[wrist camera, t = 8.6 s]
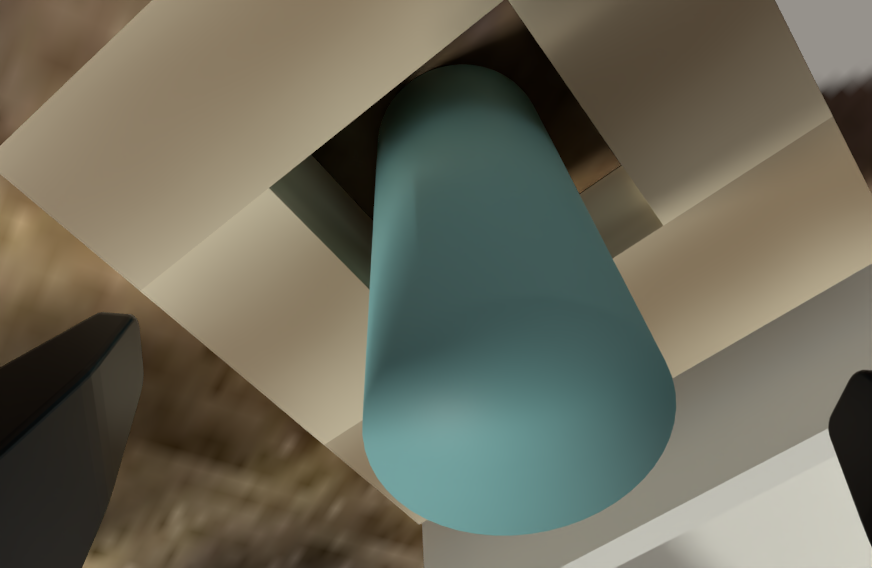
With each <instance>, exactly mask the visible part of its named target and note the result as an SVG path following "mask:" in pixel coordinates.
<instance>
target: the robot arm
mask: <svg viewBox="0 0 872 568" xmlns="http://www.w3.org/2000/svg"><path fill="white" fill-rule="evenodd" d="M143 374H144V372H143V360H142V350H141V339H140V329H139V323H138V321H137V319H136V318H135V316H133V315H131V314H119V313H106V312H101V313H97V314H95V315H93V316H91V317H89V318H88V319H86V320H84V321H82V322H80V323H79V324H77V325H75V326H73V327H72V328H70V329H68V330H66V331H64V332H63V333H61V334H59V335H57V336H55V337H54V338H52V339H50V340H48V341H46V342H45V343H43V344H41V345H39V346H38V347H36V348H34V349H32V350H30V351H29V352H27V353H25V354H23V355H21V356H20V357H18V358H16V359H14V360H13V361H11V362H9V363H7V364H5V365H4V366H2V367H0V568H82V566H83V564H84V562H85V559H86V557H87V555H88V552H89V550H90V548H91V545H92V543H93V541H94V538H95V536H96V534H97V531H98V529H99V526H100V524H101V522H102V519H103V517H104V514H105V512H106V509H107V506H108V504H109V501H110V498H111V495H112V491H113V488H114V485H115V482H116V478H117V475H118V471H119V468H120V464H121V461H122V457H123V454H124V450H125V447H126V443H127V440H128V436H129V433H130V429H131V426H132V422H133V419H134V415H135V412H136V408H137V405H138V401H139V398H140V394H141V391H142V385H143ZM828 430H829V436H830V439H831V442H832V445H833V447H834V450H835V453H836V455H837V458H838V461H839V464H840V466H841V469H842V472H843V474H844V477H845V480H846V482H847V485H848V488H849V490H850V493H851V496H852V499H853V501H854V504H855V507H856V509H857V512H858V515H859V517H860V520H861V523H862V525H863V528H864V530H865V533H866V535H867V538H868V540H869V542H870V545H871V547H872V370H860V371H857V372H856V373H854V374H853V375H852V376H851V378H850V379H849V381H848V383H847V385H846V387H845V389H844V391H843V392H842V394H841V396H840V398H839V400H838V402H837V404H836V406H835V408H834V410H833V412H832V414H831V416H830V418H829V423H828Z"/></svg>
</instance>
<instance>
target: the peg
mask: <svg viewBox="0 0 872 568" xmlns="http://www.w3.org/2000/svg"><path fill="white" fill-rule="evenodd" d="M675 413H676V392H675V387H674V383H673V378H672V375H671V373H670V370H669V368H668V366H667V363H666V361H665V359H664V357H663V355H662V353H661V351H660V349H659V348H658V346H657V344H656V342H655V340H654V338H653V336H652V334H651V332H650V330H649V328H648V326H647V324H646V322H645V320H644V318H643V317H642V315H641V313H640V311H639V309H638V307H637V305H636V303H635V301H634V299H633V297H632V295H631V293H630V291H629V289H628V287H627V286H626V284H625V282H624V280H623V278H622V276H621V274H620V272H619V270H618V268H617V266H616V264H615V262H614V260H613V258H612V256H611V255H610V253H609V251H608V249H607V247H606V245H605V243H604V241H603V239H602V237H601V235H600V233H599V231H598V229H597V227H596V225H595V224H594V222H593V220H592V218H591V216H590V214H589V212H588V210H587V208H586V206H585V204H584V202H583V200H582V198H581V196H580V194H579V193H578V191H577V189H576V187H575V185H574V183H573V181H572V179H571V177H570V175H569V173H568V171H567V169H566V167H565V165H564V163H563V162H562V160H561V158H560V156H559V154H558V152H557V150H556V148H555V146H554V144H553V142H552V140H551V138H550V136H549V134H548V132H547V131H546V129H545V127H544V125H543V123H542V121H541V119H540V117H539V115H538V113H537V111H536V109H535V107H534V105H533V104H532V102H531V101H530V99H529V97H528V96H527V95H526V94H525V92H524V91H523V90H522V89H521V88H520V87H519V86H518V85H517V84H516V83H515V82H513V81H512V80H511V79H509V78H508V77H506V76H505V75H503V74H501V73H499V72H497V71H495V70H492V69H489V68H486V67H482V66H476V65H466V64H458V65H448V66H444V67H439V68H436V69H433V70H431V71H428V72H426V73H424V74H422V75H420V76H418V77H417V78H415V79H414V80H412V81H411V82H409V83H408V84H407V85H406V86H405V87H404V88H403V89H402V90H400V92H399V93H398V94H397V95H396V96H395V97H394V99H393V100H392V102H391V103H390V105H389V106H388V108H387V110H386V112H385V114H384V116H383V119H382V122H381V125H380V129H379V135H378V145H377V163H376V182H375V200H374V218H373V237H372V255H371V273H370V292H369V310H368V328H367V347H366V365H365V383H364V401H363V423H362V436H363V442H364V448H365V452H366V455H367V458H368V460H369V463H370V466H371V467H372V469H373V471H374V473H375V475H376V477H377V478H378V480H379V481H380V482H381V483H382V485H383V486H384V487H385V489H386V490H387V491H388V492H389V493H390V494H391V495H392V496H393V497H394V498H395V499H396V500H397V501H398V502H400V503H401V504H403V505H404V506H405V507H407V508H408V509H409V510H411V511H412V512H414V513H416V514H418V515H420V516H421V517H423V518H425V519H427V520H429V521H432V522H434V523H437V524H439V525H441V526H445V527H448V528H451V529H455V530H458V531H463V532H469V533H474V534H483V535H493V536H513V535H525V534H533V533H539V532H545V531H550V530H553V529H557V528H561V527H565V526H568V525H571V524H573V523H576V522H579V521H581V520H584V519H586V518H588V517H590V516H593V515H595V514H597V513H599V512H601V511H602V510H604V509H606V508H607V507H609V506H611V505H612V504H614V503H616V502H617V501H619V500H620V499H621V498H623V497H624V496H625V495H627V494H628V493H629V492H630V491H632V490H633V489H634V488H635V487H636V486H637V485H638V484H639V483H640V482H641V481H642V480H643V479H644V478H645V477H646V476H647V474H648V473H649V472H650V471H651V470H652V469H653V467H654V466H655V464H656V463H657V461H658V460H659V458H660V457H661V455H662V454H663V452H664V450H665V448H666V445H667V443H668V441H669V439H670V436H671V433H672V429H673V426H674V421H675Z"/></svg>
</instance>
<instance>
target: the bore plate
mask: <svg viewBox="0 0 872 568" xmlns="http://www.w3.org/2000/svg"><path fill="white" fill-rule="evenodd" d="M502 1H503V0H152V1H151V2H150V3H149V4H148V5H147V6H146V7H145V8H144V9H143V10H142V11H141V12H139V13H138V14H137V15H136V16H135V17H134V18H133V19H132V20H131V21H130V22H129V23H128V24H127V25H126V26H125V27H124V28H123V29H122V30H121V31H120V32H119V33H118V34H117V35H115V36H114V37H113V38H112V39H111V40H110V41H109V42H108V43H107V44H106V45H105V46H104V47H103V48H102V49H101V50H100V51H99V52H98V53H97V54H96V55H95V56H94V57H93V58H91V59H90V60H89V61H88V62H87V63H86V64H85V65H84V66H83V67H82V68H81V69H80V70H79V71H78V72H77V73H76V74H75V75H74V76H73V77H72V78H71V79H70V80H69V81H67V82H66V83H65V84H64V85H63V86H62V87H61V88H60V89H59V90H58V91H57V92H56V93H55V94H54V95H53V96H52V97H51V98H50V99H49V100H48V101H47V102H46V103H44V104H43V105H42V106H41V107H40V108H39V109H38V110H37V111H36V112H35V113H34V114H33V115H32V116H31V117H30V118H29V119H28V120H27V121H26V122H25V123H24V124H23V125H22V126H20V127H19V128H18V129H17V130H16V131H15V132H14V133H13V134H12V135H11V136H10V137H9V138H8V139H7V140H6V141H5V142H4V143H3V144H2V145H1V146H0V174H1V175H2V176H3V177H4V178H6V179H7V180H8V181H9V182H10V183H12V184H13V185H14V186H15V187H16V188H18V189H19V190H20V191H21V192H22V193H24V194H25V195H26V196H27V197H28V198H30V199H31V200H32V201H33V202H34V203H36V204H37V205H38V206H39V207H40V208H41V209H43V210H44V211H45V212H46V213H47V214H49V215H50V216H51V217H52V218H53V219H55V220H56V221H57V222H58V223H59V224H61V225H62V226H63V227H64V228H65V229H67V230H68V231H69V232H70V233H71V234H73V235H74V236H75V237H76V238H77V239H79V240H80V241H81V242H82V243H83V244H84V245H86V246H87V247H88V248H89V249H90V250H92V251H93V252H94V253H95V254H96V255H98V256H99V257H100V258H101V259H102V260H104V261H105V262H106V263H107V264H108V265H110V266H111V267H112V268H113V269H114V270H116V271H117V272H118V273H119V274H120V275H122V276H123V277H124V278H125V279H126V280H127V281H129V282H130V283H131V284H132V285H133V286H135V287H136V288H137V289H138V290H139V291H141V292H142V293H143V294H144V295H145V296H147V297H148V298H149V299H150V300H151V301H153V302H154V303H155V304H156V305H157V306H159V307H160V308H161V309H162V310H163V311H165V312H166V313H167V314H168V315H169V316H170V317H172V318H173V319H174V320H175V321H176V322H178V323H179V324H180V325H181V326H182V327H184V328H185V329H186V330H187V331H188V332H190V333H191V334H192V335H193V336H194V337H196V338H197V339H198V340H199V341H200V342H202V343H203V344H204V345H205V346H206V347H208V348H209V349H210V350H211V351H212V352H213V353H215V354H216V355H217V356H218V357H219V358H221V359H222V360H223V361H224V362H225V363H227V364H228V365H229V366H230V367H231V368H233V369H234V370H235V371H236V372H237V373H239V374H240V375H241V376H242V377H243V378H245V379H246V380H247V381H248V382H249V383H250V384H252V385H253V386H254V387H255V388H256V389H258V390H259V391H260V392H261V393H262V394H264V395H265V396H266V397H267V398H268V399H270V400H271V401H272V402H273V403H274V404H276V405H277V406H278V407H279V408H280V409H282V410H283V411H284V412H285V413H286V414H288V415H289V416H290V417H291V418H292V419H293V420H295V421H296V422H297V423H298V424H299V425H301V426H302V427H303V428H304V429H305V430H307V431H308V432H309V433H310V434H311V435H313V436H314V437H315V438H316V439H317V440H319V441H320V442H321V443H322V444H323V445H325V446H326V447H327V448H328V449H329V450H331V451H332V452H333V453H334V454H335V455H336V456H338V457H339V458H340V459H341V460H342V461H344V462H345V463H346V464H347V465H348V466H350V467H351V468H352V469H353V470H354V471H356V472H357V473H358V474H359V475H360V476H362V477H363V478H364V479H365V480H366V481H368V482H369V483H370V484H371V485H372V486H374V487H375V488H376V489H377V490H378V491H379V492H381V493H382V494H383V495H384V496H385V497H387V498H388V499H389V500H390V501H391V502H393V503H394V504H395V505H396V506H397V507H399V508H400V509H401V510H402V511H403V512H405V513H406V514H407V515H408V516H409V517H411V518H412V519H413V520H414V521H415V522H417V523H418V524H421V523H423V522H425V521H426V520H427V519H425V518H423V517H421V516H420V515H418V514H416V513H414V512H412V511H411V510H409V509H408V508H407V507H405V506H404V505H403V504H401V503H400V502H398V501H397V500H396V499H395V498H394V497H393V496H392V495H391V494H390V493H389V492H388V491H387V490H386V489H385V487H384V486H383V485H382V483H381V482H380V481H379V480H378V478H377V477H376V475H375V473H374V471H373V469H372V467H371V466H370V463H369V460H368V458H367V455H366V452H365V448H364V442H363V436H362V423H363V401H364V383H365V365H366V347H367V328H368V310H369V292H370V273H371V255H372V237H373V221H372V220H371V218H370V217H369V216H368V215H367V214H366V213H365V212H364V211H363V210H362V209H361V208H360V207H359V206H358V204H357V203H356V202H355V201H354V200H353V199H352V198H351V197H350V196H349V195H348V194H347V193H346V192H345V190H344V189H343V188H342V187H341V186H340V185H339V184H338V183H337V182H336V181H335V180H334V179H333V178H332V176H331V175H330V174H329V173H328V172H327V171H326V170H325V169H324V168H323V167H322V166H321V165H320V164H319V162H318V161H317V160H316V159H315V158H314V157H313V156H312V155H311V154H312V153H313V152H314V151H316V150H317V149H318V148H319V147H321V146H322V145H323V144H324V143H326V142H327V141H328V140H329V139H331V138H332V137H333V136H334V135H336V134H337V133H338V132H339V131H341V130H342V129H343V128H344V127H346V126H347V125H348V124H349V123H351V122H352V121H353V120H354V119H356V118H357V117H358V116H359V115H361V114H362V113H363V112H364V111H366V110H367V109H368V108H369V107H371V106H372V105H373V104H374V103H376V102H377V101H378V100H379V99H381V98H382V97H383V96H384V95H386V94H387V93H388V92H389V91H391V90H392V89H393V88H394V87H396V86H397V85H398V84H399V83H401V82H402V81H403V80H404V79H406V78H407V77H408V76H409V75H411V74H412V73H413V72H414V71H416V70H417V69H418V68H419V67H421V66H422V65H423V64H424V63H426V62H427V61H428V60H429V59H431V58H432V57H433V56H434V55H436V54H437V53H438V52H439V51H441V50H442V49H443V48H444V47H446V46H447V45H448V44H449V43H451V42H452V41H453V40H454V39H456V38H457V37H458V36H459V35H461V34H462V33H463V32H464V31H466V30H467V29H468V28H469V27H471V26H472V25H473V24H474V23H476V22H477V21H478V20H479V19H481V18H482V17H483V16H484V15H486V14H487V13H488V12H489V11H491V10H492V9H493V8H494V7H496V6H497V5H498V4H499V3H501V2H502ZM508 1H509V2H510V4H511V5H512V6H513V8H514V9H515V11H516V12H517V14H518V15H519V17H520V18H521V20H522V21H523V22H524V24H525V25H526V27H527V28H528V30H529V31H530V33H531V34H532V36H533V37H534V38H535V40H536V41H537V43H538V44H539V46H540V47H541V49H542V50H543V52H544V53H545V54H546V56H547V57H548V59H549V60H550V62H551V63H552V65H553V66H554V68H555V69H556V70H557V72H558V73H559V75H560V76H561V78H562V79H563V81H564V82H565V84H566V85H567V86H568V88H569V89H570V91H571V92H572V94H573V95H574V97H575V98H576V99H577V101H578V102H579V104H580V105H581V107H582V108H583V110H584V111H585V113H586V114H587V115H588V117H589V118H590V120H591V121H592V123H593V124H594V126H595V127H596V129H597V130H598V131H599V133H600V134H601V136H602V137H603V139H604V140H605V142H606V143H607V145H608V146H609V147H610V149H611V150H612V152H613V153H614V155H615V156H616V158H617V159H618V161H619V162H620V163H621V165H622V166H620V167H619V168H617V169H616V170H614V171H613V172H611V173H610V174H609V175H607V176H606V177H604V178H603V179H601V180H600V181H598V182H597V183H595V184H594V185H592V186H591V187H590V188H588V189H587V190H585V191H584V192H582V193H581V194H580V196H581V198H582V200H583V202H584V204H585V206H586V208H587V210H588V212H589V214H590V216H591V218H592V220H593V222H594V224H595V225H596V227H597V229H598V231H599V233H600V235H601V237H602V239H603V241H604V243H605V245H606V247H607V249H608V251H609V253H610V255H611V256H612V258H613V260H614V262H615V264H616V266H617V268H618V270H619V272H620V274H621V276H622V278H623V280H624V282H625V284H626V286H627V287H628V289H629V291H630V293H631V295H632V297H633V299H634V301H635V303H636V305H637V307H638V309H639V311H640V313H641V315H642V317H643V318H644V320H645V322H646V324H647V326H648V328H649V330H650V332H651V334H652V336H653V338H654V340H655V342H656V344H657V346H658V348H659V349H660V351H661V353H662V355H663V357H664V359H665V361H666V363H667V366H668V368H669V370H670V373H671V375H672V378H674V377H676V376H678V375H679V374H681V373H683V372H685V371H686V370H688V369H690V368H692V367H693V366H695V365H697V364H698V363H700V362H702V361H704V360H705V359H707V358H709V357H711V356H712V355H714V354H716V353H718V352H719V351H721V350H723V349H724V348H726V347H728V346H730V345H731V344H733V343H735V342H737V341H738V340H740V339H742V338H744V337H745V336H747V335H749V334H750V333H752V332H754V331H756V330H757V329H759V328H761V327H763V326H764V325H766V324H768V323H770V322H771V321H773V320H775V319H776V318H778V317H780V316H782V315H783V314H785V313H787V312H789V311H790V310H792V309H794V308H796V307H797V306H799V305H801V304H802V303H804V302H806V301H808V300H809V299H811V298H813V297H815V296H816V295H818V294H820V293H822V292H823V291H825V290H827V289H828V288H830V287H832V286H834V285H835V284H837V283H839V282H841V281H842V280H844V279H846V278H848V277H849V276H851V275H853V274H854V273H856V272H858V271H860V270H861V269H863V268H865V267H867V266H868V265H870V264H872V194H871V192H870V190H869V188H868V186H867V184H866V182H865V180H864V178H863V176H862V174H861V172H860V170H859V168H858V166H857V164H856V162H855V160H854V158H853V156H852V154H851V152H850V150H849V148H848V146H847V144H846V142H845V140H844V138H843V136H842V134H841V132H840V130H839V128H838V126H837V124H836V122H835V120H834V118H833V116H832V114H831V112H830V110H829V108H828V106H827V104H826V102H825V100H824V98H823V96H822V94H821V92H820V90H819V88H818V86H817V84H816V82H815V80H814V78H813V76H812V74H811V72H810V70H809V68H808V66H807V64H806V62H805V60H804V58H803V56H802V54H801V52H800V50H799V48H798V46H797V44H796V42H795V40H794V38H793V36H792V34H791V32H790V30H789V28H788V26H787V24H786V22H785V20H784V18H783V16H782V14H781V12H780V10H779V8H778V6H777V4H776V2H775V0H508Z"/></svg>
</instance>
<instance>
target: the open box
mask: <svg viewBox="0 0 872 568" xmlns="http://www.w3.org/2000/svg"><path fill="white" fill-rule="evenodd" d="M860 370H872V264H870V265H868V266H867V267H865V268H863V269H861V270H860V271H858V272H856V273H854V274H853V275H851V276H849V277H848V278H846V279H844V280H842V281H841V282H839V283H837V284H835V285H834V286H832V287H830V288H828V289H827V290H825V291H823V292H822V293H820V294H818V295H816V296H815V297H813V298H811V299H809V300H808V301H806V302H804V303H802V304H801V305H799V306H797V307H796V308H794V309H792V310H790V311H789V312H787V313H785V314H783V315H782V316H780V317H778V318H776V319H775V320H773V321H771V322H770V323H768V324H766V325H764V326H763V327H761V328H759V329H757V330H756V331H754V332H752V333H750V334H749V335H747V336H745V337H744V338H742V339H740V340H738V341H737V342H735V343H733V344H731V345H730V346H728V347H726V348H724V349H723V350H721V351H719V352H718V353H716V354H714V355H712V356H711V357H709V358H707V359H705V360H704V361H702V362H700V363H698V364H697V365H695V366H693V367H692V368H690V369H688V370H686V371H685V372H683V373H681V374H679V375H678V376H676V377H674V378H673V383H674V387H675V392H676V413H675V421H674V426H673V429H672V433H671V436H670V439H669V441H668V443H667V445H666V448H665V450H664V452H663V454H662V455H661V457H660V458H659V460H658V461H657V463H656V464H655V466H654V467H653V469H652V470H651V471H650V472H649V473H648V474H647V476H646V477H645V478H644V479H643V480H642V481H641V482H640V483H639V484H638V485H637V486H636V487H635V488H634V489H633V490H632V491H630V492H629V493H628V494H627V495H625V496H624V497H623V498H621V499H620V500H619V501H617V502H616V503H614V504H612V505H611V506H609V507H607V508H606V509H604V510H602V511H601V512H599V513H597V514H595V515H593V516H590V517H588V518H586V519H584V520H581V521H579V522H576V523H573V524H571V525H568V526H565V527H561V528H557V529H553V530H550V531H545V532H539V533H533V534H525V535H513V536H493V535H483V534H474V533H469V532H463V531H458V530H455V529H451V528H448V527H445V526H441V525H439V524H437V523H434V522H432V521H429V520H426V521H425V522H423V523H422V532H423V556H424V568H872V547H871V545H870V542H869V540H868V538H867V535H866V533H865V530H864V528H863V525H862V523H861V520H860V517H859V515H858V512H857V509H856V507H855V504H854V501H853V499H852V496H851V493H850V490H849V488H848V485H847V482H846V480H845V477H844V474H843V472H842V469H841V466H840V464H839V461H838V458H837V455H836V453H835V450H834V447H833V445H832V442H831V439H830V436H829V430H828V423H829V418H830V416H831V414H832V412H833V410H834V408H835V406H836V404H837V402H838V400H839V398H840V396H841V394H842V392H843V391H844V389H845V387H846V385H847V383H848V381H849V379H850V378H851V376H852V375H853V374H854V373H856V372H857V371H860Z"/></svg>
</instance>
